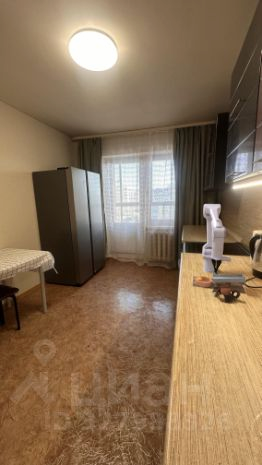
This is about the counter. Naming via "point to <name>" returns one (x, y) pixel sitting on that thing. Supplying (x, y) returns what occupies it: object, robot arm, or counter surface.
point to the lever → (229, 278)
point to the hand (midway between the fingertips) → (215, 272)
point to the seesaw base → (231, 285)
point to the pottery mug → (226, 293)
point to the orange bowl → (205, 283)
